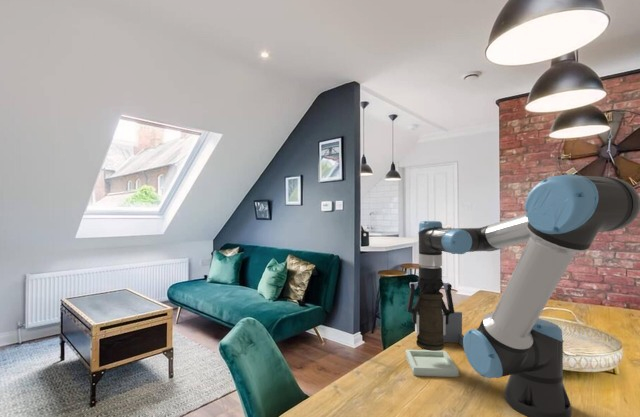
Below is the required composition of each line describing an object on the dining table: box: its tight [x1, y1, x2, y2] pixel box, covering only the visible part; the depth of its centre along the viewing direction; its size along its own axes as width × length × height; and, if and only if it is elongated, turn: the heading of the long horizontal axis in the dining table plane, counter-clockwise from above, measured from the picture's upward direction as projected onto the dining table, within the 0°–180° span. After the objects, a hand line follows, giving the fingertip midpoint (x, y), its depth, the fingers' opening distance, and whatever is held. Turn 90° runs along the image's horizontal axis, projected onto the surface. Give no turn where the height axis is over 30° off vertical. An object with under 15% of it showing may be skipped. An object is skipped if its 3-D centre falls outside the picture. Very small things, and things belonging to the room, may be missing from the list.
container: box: [415, 290, 445, 351], centre depth 114 cm, size 9×9×18 cm
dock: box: [442, 310, 465, 349], centre depth 128 cm, size 15×15×12 cm
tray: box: [405, 348, 460, 378], centre depth 113 cm, size 14×14×2 cm
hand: (430, 333), depth 113 cm, fingers closed on container, 8 cm apart
